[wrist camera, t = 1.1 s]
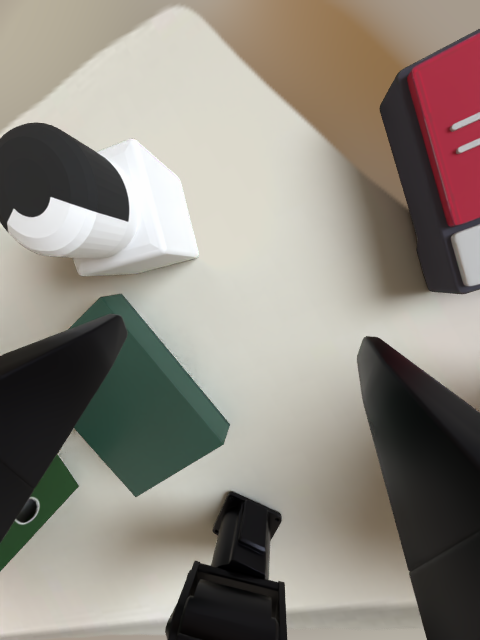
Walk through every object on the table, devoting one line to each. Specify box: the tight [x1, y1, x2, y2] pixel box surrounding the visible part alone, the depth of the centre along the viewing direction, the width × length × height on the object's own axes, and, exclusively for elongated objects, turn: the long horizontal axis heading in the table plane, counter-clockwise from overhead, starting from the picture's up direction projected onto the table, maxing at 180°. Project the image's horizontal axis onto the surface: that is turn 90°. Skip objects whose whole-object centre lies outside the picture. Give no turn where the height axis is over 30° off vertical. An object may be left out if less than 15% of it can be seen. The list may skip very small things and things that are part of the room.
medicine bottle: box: [0, 123, 199, 276], centre depth 17 cm, size 7×7×12 cm
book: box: [68, 294, 230, 497], centre depth 26 cm, size 18×13×3 cm
